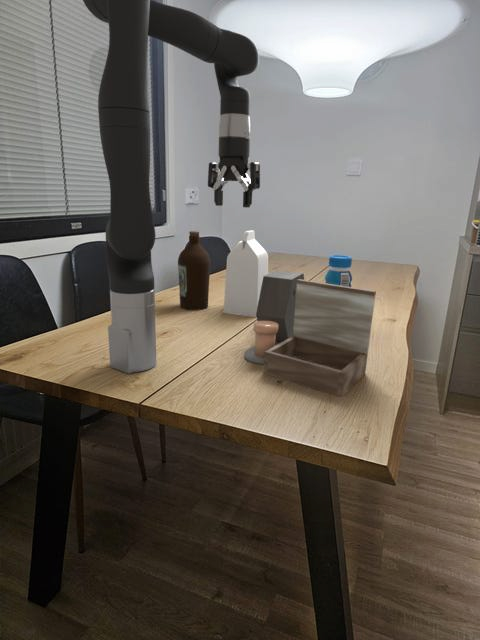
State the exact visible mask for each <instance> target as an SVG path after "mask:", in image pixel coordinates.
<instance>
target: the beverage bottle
mask: <svg viewBox="0 0 480 640" xmlns="http://www.w3.org/2000/svg"><path fill="white" fill-rule="evenodd" d="M328 259H329V260H328V267H329V269H328V271H327V272H326V273H325V276H324V279H325V280H324V281H325V282H324V283H327V284H334V285H340V286H347V287H353V286H352V284H351V283H352V282H353V276H352V273H351V271H350V269H351V267H352V261H353V258H352V257H351V256H349V255H345V254H344V255H343V254H339V255H338V254H332V255H330V256H329V258H328Z"/></svg>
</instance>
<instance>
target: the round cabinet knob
mask: <svg viewBox="0 0 480 640" xmlns="http://www.w3.org/2000/svg"><path fill="white" fill-rule="evenodd" d="M252 330H253V332H255V333H254V348H255V352H254V354H255V355H256V356H257V357H261V358H264V352H265V351H267V350H269V349H270V348H272V347H274V346H276V341H275V338H276V333H277V332H278V324H277V323H276V322H272V321H254V322H253V329H252Z"/></svg>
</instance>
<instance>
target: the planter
mask: <svg viewBox="0 0 480 640" xmlns="http://www.w3.org/2000/svg"><path fill="white" fill-rule="evenodd" d="M298 279H302V280H305V275H304V272H296V271H287V270H274V271H272V272H269V273H268V274H267V275H265V276H264V277H263V281H262V286H261V291H260V297H259V302H258V307H257V312H256V317H255V318H256V320H257V321H272V322H276V323H277V324H278V332H277V333H276V338H275V342H278V343H281V342H283V341H285V340H287V339H289V338H291V337H292V336H293V329H294V315H295V302H296V289H297V280H298ZM257 321H256V322H257Z"/></svg>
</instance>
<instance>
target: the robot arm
mask: <svg viewBox="0 0 480 640" xmlns="http://www.w3.org/2000/svg"><path fill="white" fill-rule="evenodd" d="M82 1H83V4H84V6H85V7H86V8H87V10H88V11H89V12H90V13H91V14H92V15H93V16H94V17H95V18H96V19H97V20H100V21H101V22H104V23H106V24H108V33H109V37H108V38H109V42H108V50H107V56H106V60H105V65H104V68H103V72H102V76H101V80H100V83H99V84H100V85H99V88H98V89H99V90H98V96H97V104H98V105H97V110H98V113H97V114H98V122H99V125H98V126H99V134H100V142H101V143H100V144H101V149H102V155H103V159H104V163H105V168H106V172H107V176H108V181H109V191H110V194H109V195H110V211H109V212H110V213H109V214H110V215H109V220H108V222H107V224H106V226H105V248H106V261H107V263H106V264H107V275H108V283H109V296H110V300H109V301H110V317H111V318H110V321H111V324H109V325H108V326H107V331H108V332H107V333H108V334H107V335H108V337H107V338H108V351H109V366H110V367H111V368H113V369H116V370H118V371H121V372H123V373H126V374H132V373H137V372H145V371H147V370H150V369H152V368H154V367H155V366H156V365H157V340H156V338H157V337H156V336H157V335H156V332H157V331H156V299H155V298H156V295H155V294H156V293H155V275H154V271H153V265H152V250H153V248H154V245H155V242H156V229H155V223H154V216H153V209H152V201H151V192H150V191H151V190H150V174H151V173H150V172H151V120H150V118H151V115H150V102H149V100H150V98H149V67H148V65H149V63H148V51H149V50H148V48H149V47H148V45H149V43H148V41H149V37H151V38H153V39H156V40H158V41H161V42H164V43H166V44H168V45H170V46H173V47H175V48H177V49H179V50H182V51H183V52H185V53H186V54H188V55H191V56H193V57H195V58H196V59H198V60H199V61H201V62H204V63H208V64H213V67H214V72H215V77H216V82H217V87H218V91H219V96H220V107H219V109H220V110H219V111H220V113H219V115H220V116H219V123H218V155H217V156H218V157H219V162H209V163H208V174H207V186H208V188H211V189H213V191H214V193H213V194H214V195H213V196H214V198H213V199H214V200H213V202H214V203H215V206H217V207H221V206H223V204H224V203H223V202H224V198H223V197H224V194H223V193H224V191H223V189H224V187H225V186H226V184H228V183H229V182H238V183H239V184H240V185H241V187H242V188H243V190H244V191H243V193H242V194H243V195H242V198H243V199H242V207H243V208H247V209H248V208H250V207H251V206H252V203H253V202H252V201H253V191H255V190H258V189H260V188H261V164H260V162H255V161H251V162H249V157H250V147H251V146H250V145H251V118H250V117H251V114H250V113H251V93H250V91H249V89H247V88H245V87H242V86H240V85H239V82H238V78H239V77H243V76H248V75H250V74H252V73H254V72H255V71H256V70H257V68H258V66H259V64H260V53H259V49H258V47H257V45H256V43H255V42H254V41H253V40H251V39H250V38H249V37H247V36H245V35H243V34H241V33H237V32H235V31H231V30H229V29H224V28H220V27H219V26H218V25H217V26H216V25H215V24H214V23H212V22H211V21H209V20H208V19H206V18H204V17H203V16H201V15H199V14H197V13H195V12H192V11H190V10H187V9H184V8H180V7H176V6H172V5H168V4H164V3H161V2H159V1H155V0H82ZM248 171H249V173H250V174H249V175H250V177H249V175H248V174H247V173H248Z"/></svg>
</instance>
